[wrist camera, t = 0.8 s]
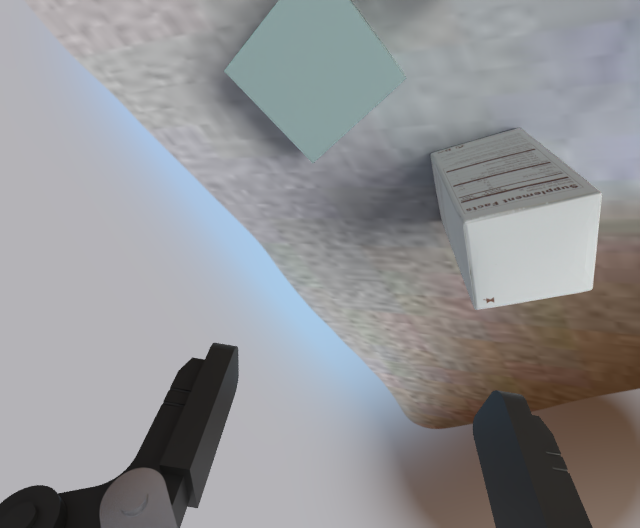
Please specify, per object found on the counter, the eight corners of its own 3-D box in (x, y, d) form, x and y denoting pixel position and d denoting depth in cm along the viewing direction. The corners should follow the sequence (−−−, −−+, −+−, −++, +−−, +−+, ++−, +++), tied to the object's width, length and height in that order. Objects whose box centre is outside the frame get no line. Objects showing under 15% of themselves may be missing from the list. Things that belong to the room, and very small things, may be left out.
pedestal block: (321, -41, 24) (314, -47, 21) (401, 68, 28) (406, 78, 25) (239, 62, 29) (223, 70, 25) (317, 146, 32) (312, 163, 29)
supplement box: (523, 203, 33) (595, 294, 23) (440, 222, 35) (471, 314, 25) (522, 123, 29) (608, 191, 19) (428, 149, 31) (460, 223, 21)
